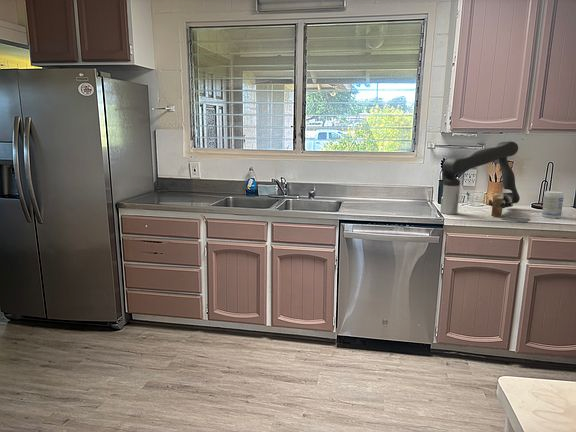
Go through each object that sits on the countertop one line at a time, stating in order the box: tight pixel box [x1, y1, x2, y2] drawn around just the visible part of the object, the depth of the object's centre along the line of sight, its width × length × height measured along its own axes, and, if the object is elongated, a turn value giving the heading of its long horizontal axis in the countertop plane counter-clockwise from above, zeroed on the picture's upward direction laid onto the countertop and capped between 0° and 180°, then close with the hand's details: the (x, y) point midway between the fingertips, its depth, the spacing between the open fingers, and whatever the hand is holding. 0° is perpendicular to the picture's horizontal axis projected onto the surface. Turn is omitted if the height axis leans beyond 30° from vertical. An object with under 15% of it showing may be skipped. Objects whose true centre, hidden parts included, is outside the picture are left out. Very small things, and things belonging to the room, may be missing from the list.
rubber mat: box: [501, 215, 531, 223], centre depth 236 cm, size 12×11×1 cm
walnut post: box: [491, 193, 504, 218], centre depth 244 cm, size 4×4×13 cm
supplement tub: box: [541, 190, 565, 219], centre depth 242 cm, size 10×10×15 cm
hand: (496, 205), depth 242 cm, fingers closed on walnut post, 4 cm apart
